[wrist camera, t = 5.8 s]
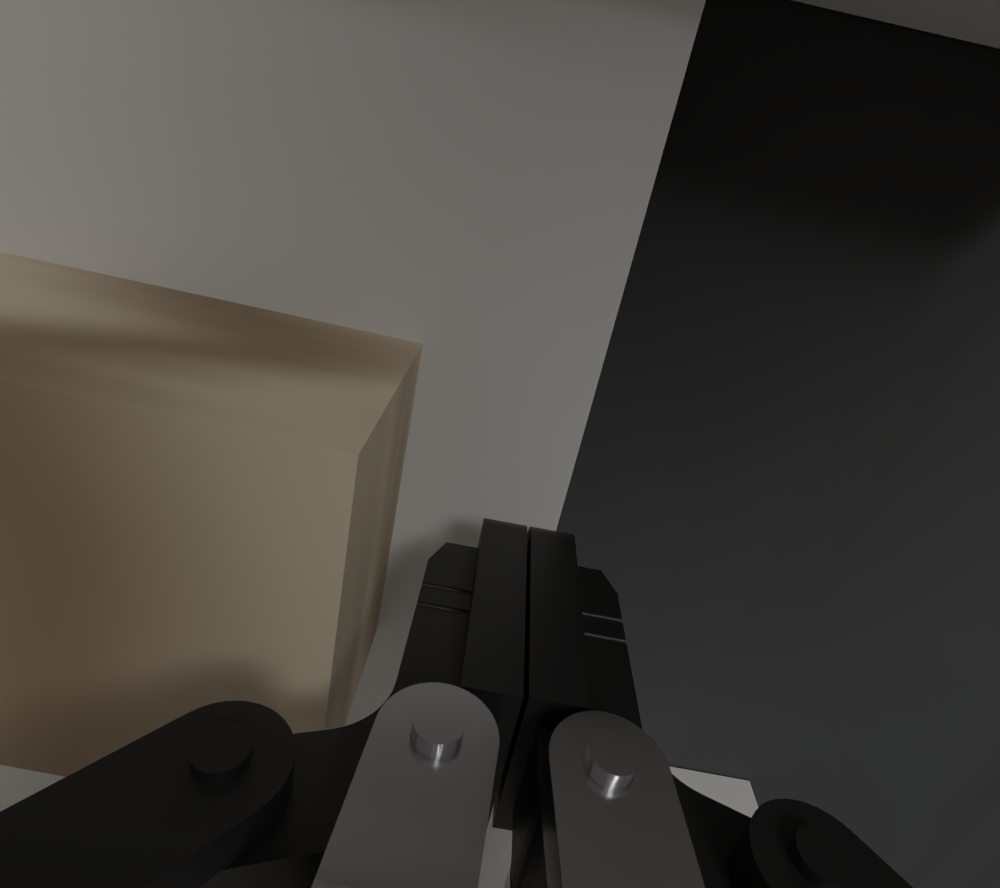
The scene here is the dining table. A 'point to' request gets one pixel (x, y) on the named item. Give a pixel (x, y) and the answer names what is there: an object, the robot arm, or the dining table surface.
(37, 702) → the birch block
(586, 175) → the track
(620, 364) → the dining table surface
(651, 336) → the dining table surface
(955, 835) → the dining table surface
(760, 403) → the dining table surface
